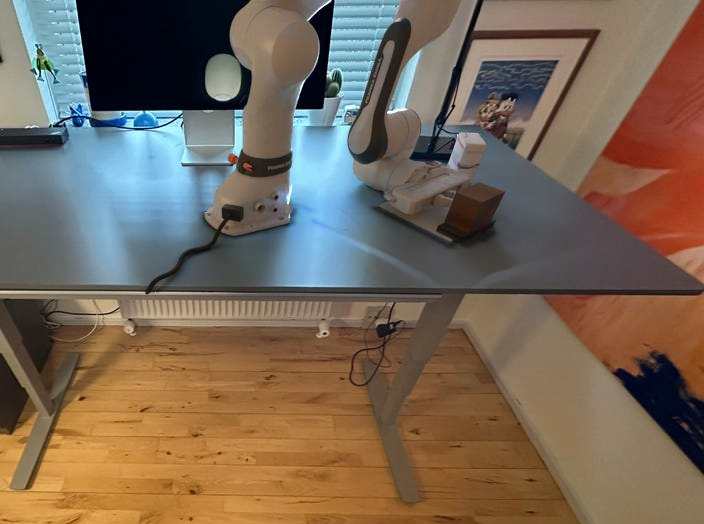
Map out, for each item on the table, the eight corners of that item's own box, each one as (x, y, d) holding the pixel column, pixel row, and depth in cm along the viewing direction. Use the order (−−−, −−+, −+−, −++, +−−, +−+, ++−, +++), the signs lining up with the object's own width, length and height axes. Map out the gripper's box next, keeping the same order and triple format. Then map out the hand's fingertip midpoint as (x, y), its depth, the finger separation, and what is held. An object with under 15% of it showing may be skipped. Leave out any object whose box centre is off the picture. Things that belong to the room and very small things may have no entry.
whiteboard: (448, 245, 89) (450, 241, 89) (375, 208, 102) (376, 205, 101) (487, 226, 94) (489, 222, 93) (413, 193, 107) (414, 189, 106)
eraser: (459, 243, 88) (475, 205, 82) (435, 231, 92) (449, 194, 85) (493, 226, 92) (511, 189, 86) (469, 215, 96) (485, 179, 90)
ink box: (468, 193, 105) (488, 144, 97) (448, 192, 106) (466, 144, 98) (461, 179, 111) (479, 131, 103) (441, 178, 112) (458, 131, 103)
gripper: (382, 181, 93) (434, 204, 84) (441, 158, 100) (494, 178, 92) (375, 207, 97) (424, 231, 89) (432, 184, 104) (482, 205, 96)
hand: (460, 204), depth 90 cm, fingers closed, pressing on eraser
